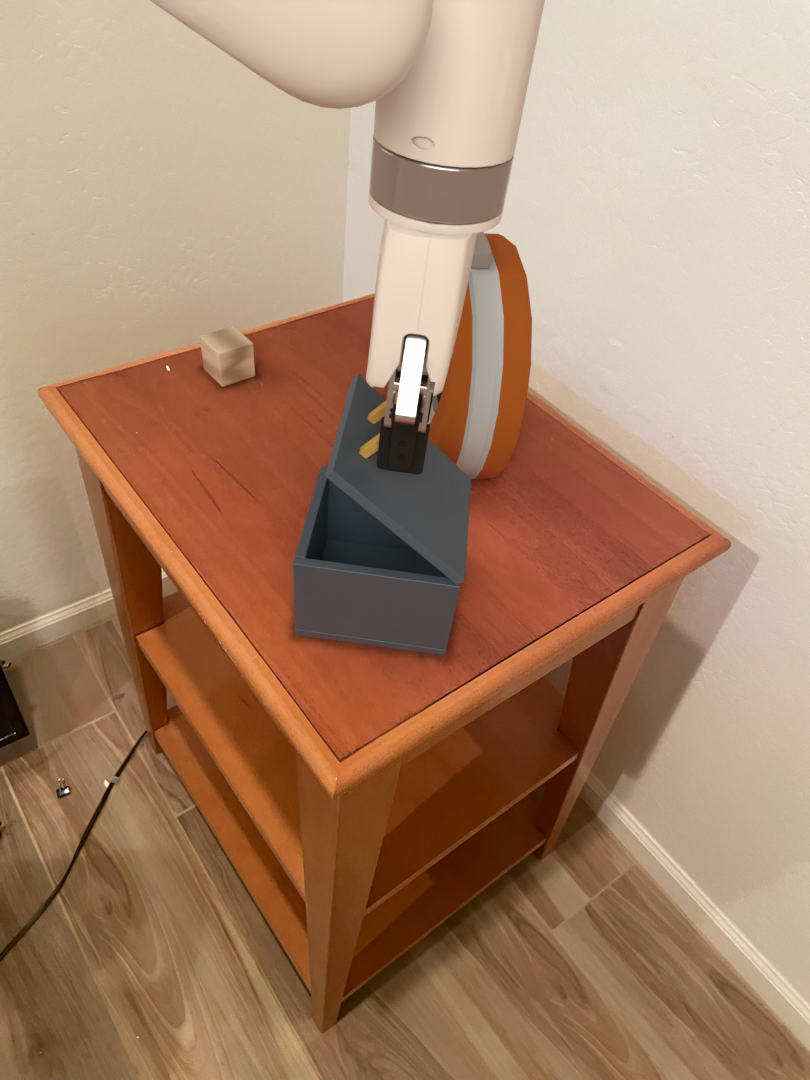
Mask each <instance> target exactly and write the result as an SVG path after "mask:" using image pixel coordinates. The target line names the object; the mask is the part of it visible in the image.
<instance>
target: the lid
mask: <svg viewBox="0 0 810 1080" xmlns="http://www.w3.org/2000/svg"><path fill="white" fill-rule="evenodd" d="M397 399H398V392H396V400H395V404H397ZM386 402H387V400H386V399H385V397H384V396H383V394H381V393H380V392H379V391H378V390H377V389H376V387H375V388H372V387H370V386H369V384H368V383H367V381H366V378H364V377H363V376H362V375H361V374H360V373H357V374H356V376H354V377H353V378H352V379H351V382H350V385H349V389H348V392H347V396H346V399H345V403H344V406H343V410H342V414H341V417H340V421H339V424H338V428H337V431H336V436H335V439H334V443H333V446H332V448H331V449H332V450H331V453H330V457H329V460H328V464H327V471H326V474H325V477H327V478H328V479H329V480H330V481H331V482H333V483H334V484H335V485H336V486H338V487H339V488H340V489H341V490H342V491H344V492H345V493H346V494H347V495H348V496H350V497H351V498H352V499H353V500H355V501H356V502H357V503H358V504H359V505H361V506H362V507H363V508H364V509H365V510H367V511H368V512H369V513H370V514H372V515H373V516H374V517H375V518H376V519H378V520H379V521H380V522H381V523H382V524H384V525H385V526H386V527H387V528H389V529H390V530H391V531H392V532H393V533H395V534H396V535H397V536H398V537H400V538H401V539H402V540H403V541H404V542H406V543H407V544H408V545H409V546H410V547H412V548H413V549H414V550H415V551H417V552H418V553H419V554H420V555H421V556H423V557H424V558H425V559H426V560H427V561H429V562H430V563H431V564H432V565H434V566H435V567H436V568H437V569H438V570H440V571H441V572H442V573H443V574H444V575H446V576H447V577H448V578H449V579H451V580H452V581H453V582H454V583H455V584H457V585H458V584H460V583H461V584H462V583H463V582H466V575H467V574H466V573H467V557H468V556H467V555H468V542H469V541H468V540H469V523H470V509H471V507H470V506H471V491H472V490H471V489H472V479H470V478H469V477H468V476H467V475H466V474H465V473H464V472H463V471H462V470H461V469H460V468H459V467H458V466H457V465H456V464H455V463H453V462H452V461H451V460H450V459H449V458H448V457H447V456H446V455H445V454H444V453H443V452H442V451H441V450H440V449H439V448H437V447H436V446H435V445H434V444H433V443H432V442H431V441H430V440H429V439H428V442H427V448H426V454H425V460H424V466H423V472H422V473H421V474H418V475H416V474H409V473H403V472H396V471H389V470H382V469H379V468H378V467H377V456H378V446H379V437H380V427H381V419H382V417H385V411H386ZM461 584H460V585H461Z"/></svg>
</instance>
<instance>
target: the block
mask: <svg viewBox="0 0 810 1080" xmlns="http://www.w3.org/2000/svg"><path fill="white" fill-rule="evenodd" d="M199 341H200V350H201V359H202V367H203V370H204V371H205V372H206V373H208V375H209V376H210V377H211V378H212V379H213V380H214V381H215V382H216V383H217V384H218V385H219V386H220V387H221V388H223V387H226V386H230V385H232V384H236V383H238V382H242V381H245V380H247V379H251V378H254V377H256V369H255V368H256V367H255V352H254V351H255V349H254V343H253V342H252V341H251V340H250V339H249V338H248V337H247V336H245V335H244V334H243V333H242V332H241V331H240V330H239V329H237V328H236V327H235V326H229V327H226V328H223V329H219V330H215V331H212V332H209V333H205V334H202V335H199Z"/></svg>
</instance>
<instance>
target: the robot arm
mask: <svg viewBox="0 0 810 1080" xmlns="http://www.w3.org/2000/svg"><path fill="white" fill-rule="evenodd" d="M149 1H150V2H152V3H153V4H154V5H156V6H157V7H158V8H160V9H161V10H163V11H164V12H166V13H167V14H168V15H170V16H172V17H173V18H174V19H176V20H177V21H178V22H180V23H182V24H183V25H184V26H185V27H187V28H189V29H190V30H191V31H193V32H195V33H196V34H197V35H199V36H200V37H202V38H204V39H205V40H207V41H208V42H210V43H211V44H212V45H214V46H215V47H217V48H218V49H220V50H221V51H223V52H224V53H226V54H227V55H228V56H230V57H231V58H233V59H234V60H236V61H237V62H238V63H239V64H241V65H243V66H244V67H246V68H247V69H249V70H250V71H251V72H253V73H255V74H256V75H257V76H259V77H260V78H262V79H263V80H265V81H267V82H268V83H269V84H271V85H272V86H274V87H276V88H277V89H279V90H281V91H282V92H284V93H285V94H287V95H288V96H291V97H293V98H295V99H296V100H299V101H301V102H303V103H306V104H310V105H313V106H317V107H320V108H325V109H326V108H327V109H336V110H343V109H344V110H345V109H351V108H353V109H354V108H359V107H362V106H364V105H368V104H370V103H373V102H375V106H374V120H373V121H374V122H373V135H372V145H371V158H370V173H369V174H370V175H369V187H368V189H369V190H368V203H369V206H370V207H371V209H372V210H373V211H374V213H376V214H377V215H378V216H380V217H381V218H383V219H384V221H383V226H382V227H383V228H382V233H381V239H380V247H379V254H378V261H377V262H378V263H377V270H376V280H375V288H374V299H373V309H372V317H371V318H372V319H371V327H370V329H371V330H370V340H369V348H368V355H367V356H368V357H367V364H366V375H365V380H366V381H367V383H368V384H369V386H370V387H372V388H375V389H376V388H382V389H384V388H385V387H386V386H388V394H387V402H386V411H385V417H382V419H381V427H380V437H379V446H378V456H377V467H378V468H379V469H382V470H389V471H396V472H403V473H409V474H416V475H418V474H421V473H422V472H423V466H424V460H425V454H426V448H427V442H428V436H429V430H430V424H427V423H428V422H429V417H430V411H431V405H432V399H433V396H436V395H438V394H439V393H441V392H442V391H443V388H444V384H445V380H446V377H447V373H448V369H449V365H450V361H451V357H452V353H453V349H454V345H455V341H456V336H457V332H458V328H459V324H460V319H461V314H462V310H463V305H464V300H465V295H466V290H467V285H468V280H469V274H470V269H471V264H472V259H473V253H474V248H475V242H476V237H477V233H480V232H483V233H484V232H487V231H490V230H492V229H494V228H495V227H496V226H497V225H499V224H500V223H501V221H502V218H503V213H504V208H505V203H506V198H507V194H508V188H509V183H510V178H511V173H512V168H513V163H514V158H515V153H516V147H517V143H518V138H519V133H520V128H521V122H522V119H523V112H524V107H525V102H526V97H527V92H528V87H529V83H530V78H531V73H532V69H533V62H534V58H535V53H536V47H537V43H538V37H539V32H540V29H541V22H542V18H543V12H544V7H545V2H546V0H149ZM388 381H389V383H388ZM396 392H398V399H397V404H395V400H396Z"/></svg>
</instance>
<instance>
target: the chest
mask: <svg viewBox="0 0 810 1080" xmlns="http://www.w3.org/2000/svg"><path fill="white" fill-rule="evenodd" d="M327 467H328V465H321V466H320V469H319V472H318V476H317V480H316V483H315V486H314V490H313V493H312V497H311V500H310V504H309V507H308V510H307V513H306V517H305V521H304V524H303V528H302V531H301V535H300V538H299V542H298V544H297V548H296V552H295V556H294V558H293V562H292V577H293V579H292V581H293V583H292V584H293V612H294V613H293V614H294V635H295V636H301V637H308V638H315V639H322V640H328V641H335V642H344V643H351V644H358V645H365V646H372V647H378V648H379V647H380V648H387V649H392V650H393V649H394V650H401V651H408V652H416V653H423V654H430V655H437V656H443V657H444V656H446V653H447V648H448V644H449V640H450V635H451V630H452V627H453V622H454V616H455V613H456V607H457V604H458V600H459V595H460V590H461V584H462V583H460V584H458V585H457V584H455V583H454V582H453V581H452V580H451V579H449V578H448V577H447V576H446V575H444V574H443V573H442V572H441V571H440V570H438V569H437V568H436V567H435V566H434V565H432V564H431V563H430V562H429V561H427V560H426V559H425V558H424V557H423V556H421V555H420V554H419V553H418V552H417V551H415V550H414V549H413V548H412V547H410V546H409V545H408V544H407V543H406V542H404V541H403V540H402V539H401V538H400V537H398V536H397V535H396V534H395V533H393V532H392V531H391V530H390V529H389V528H387V527H386V526H385V525H384V524H382V523H381V522H380V521H379V520H378V519H376V518H375V517H374V516H373V515H372V514H370V513H369V512H368V511H367V510H365V509H364V508H363V507H362V506H361V505H359V504H358V503H357V502H356V501H355V500H353V499H352V498H351V497H350V496H348V495H347V494H346V493H345V492H344V491H342V490H341V489H340V488H339V487H338V486H336V485H335V484H334V483H333V482H331V481H330V480H329V479H328V478H327V477H325V474H326V471H327Z"/></svg>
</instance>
